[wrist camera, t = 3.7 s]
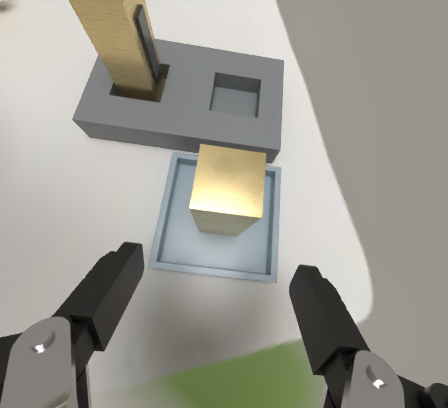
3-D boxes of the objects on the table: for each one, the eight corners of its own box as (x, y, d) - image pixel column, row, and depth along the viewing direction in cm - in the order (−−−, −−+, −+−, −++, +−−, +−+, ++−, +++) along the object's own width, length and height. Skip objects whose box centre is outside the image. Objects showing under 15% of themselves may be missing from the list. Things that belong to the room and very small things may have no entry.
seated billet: (125, 104, 23) (64, -7, 13) (134, 78, 24) (83, -41, 14) (161, 109, 23) (126, 3, 13) (167, 84, 24) (140, -31, 14)
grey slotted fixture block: (89, 137, 22) (72, 119, 19) (119, 56, 26) (108, 31, 23) (271, 163, 23) (280, 150, 20) (276, 81, 27) (283, 60, 24)
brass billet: (199, 231, 20) (189, 208, 10) (204, 195, 21) (200, 143, 11) (239, 236, 20) (266, 218, 10) (242, 200, 21) (270, 153, 11)
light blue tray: (153, 266, 19) (147, 267, 17) (176, 160, 22) (172, 151, 20) (270, 280, 20) (276, 283, 18) (275, 174, 23) (281, 167, 21)
